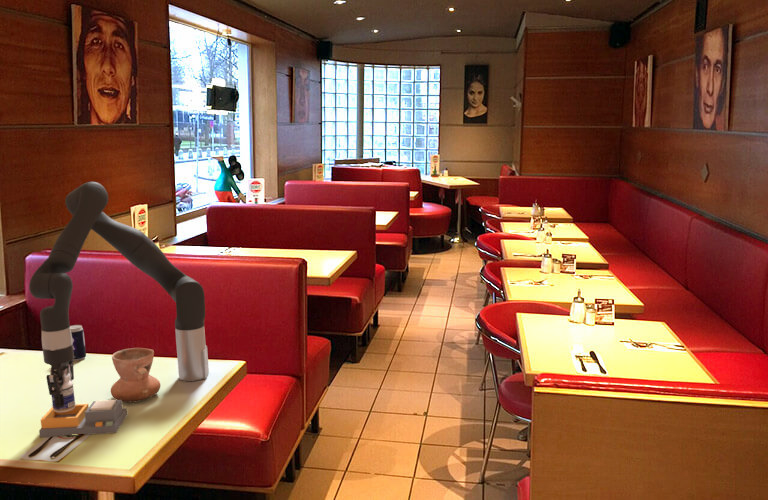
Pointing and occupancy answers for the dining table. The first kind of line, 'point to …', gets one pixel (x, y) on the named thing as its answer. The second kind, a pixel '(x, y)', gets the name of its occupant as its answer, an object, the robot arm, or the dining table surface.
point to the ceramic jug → (134, 375)
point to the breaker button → (103, 405)
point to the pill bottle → (66, 396)
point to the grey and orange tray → (83, 421)
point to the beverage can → (78, 342)
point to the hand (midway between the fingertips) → (63, 402)
